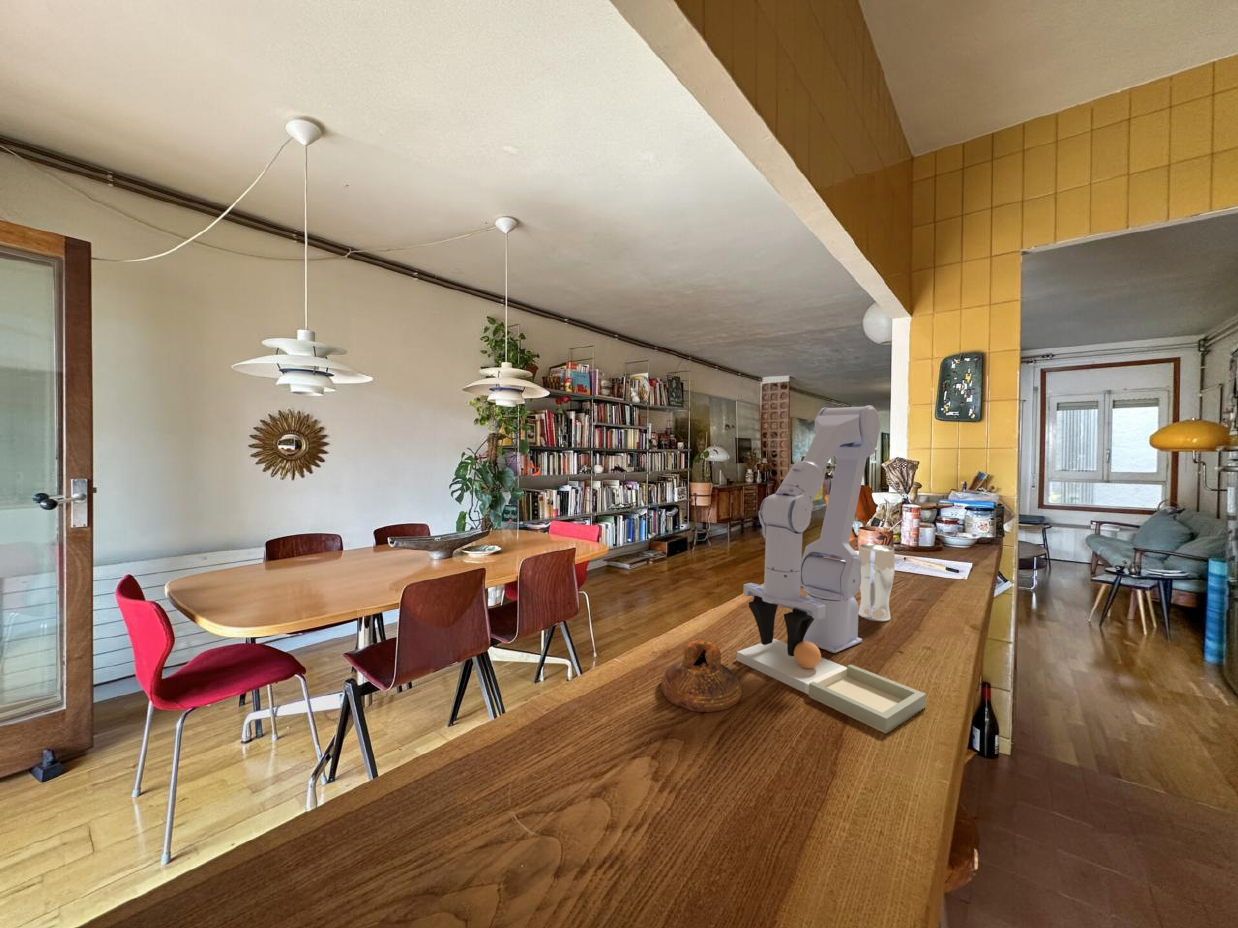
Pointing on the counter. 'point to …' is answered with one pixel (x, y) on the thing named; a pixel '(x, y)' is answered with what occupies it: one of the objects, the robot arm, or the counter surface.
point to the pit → (870, 699)
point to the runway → (789, 666)
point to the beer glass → (876, 581)
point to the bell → (701, 680)
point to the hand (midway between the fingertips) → (780, 648)
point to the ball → (807, 654)
